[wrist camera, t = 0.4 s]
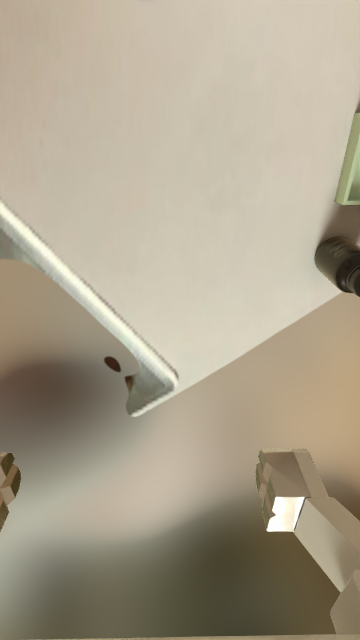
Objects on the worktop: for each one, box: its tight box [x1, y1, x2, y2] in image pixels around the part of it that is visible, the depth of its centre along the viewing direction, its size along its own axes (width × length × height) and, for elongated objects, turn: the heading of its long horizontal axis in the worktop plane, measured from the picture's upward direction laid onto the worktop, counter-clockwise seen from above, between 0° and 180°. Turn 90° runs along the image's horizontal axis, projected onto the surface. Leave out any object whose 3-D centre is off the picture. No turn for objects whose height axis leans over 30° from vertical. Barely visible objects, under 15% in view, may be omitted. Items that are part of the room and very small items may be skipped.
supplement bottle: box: [315, 237, 360, 297], centre depth 51 cm, size 7×7×12 cm
